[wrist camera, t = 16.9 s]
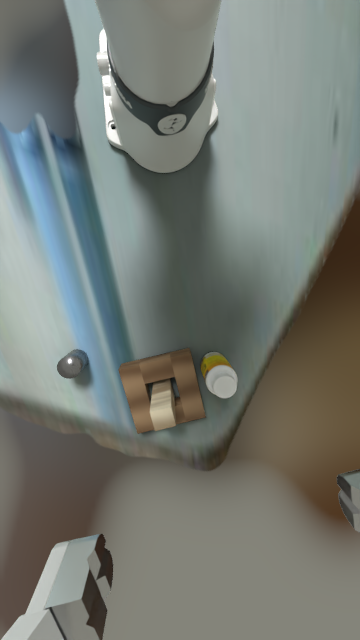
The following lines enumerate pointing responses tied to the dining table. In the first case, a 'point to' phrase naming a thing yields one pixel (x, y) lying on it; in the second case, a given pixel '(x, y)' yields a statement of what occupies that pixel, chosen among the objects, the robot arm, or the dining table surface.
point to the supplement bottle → (218, 375)
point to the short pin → (72, 364)
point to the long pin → (162, 405)
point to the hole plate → (161, 368)
